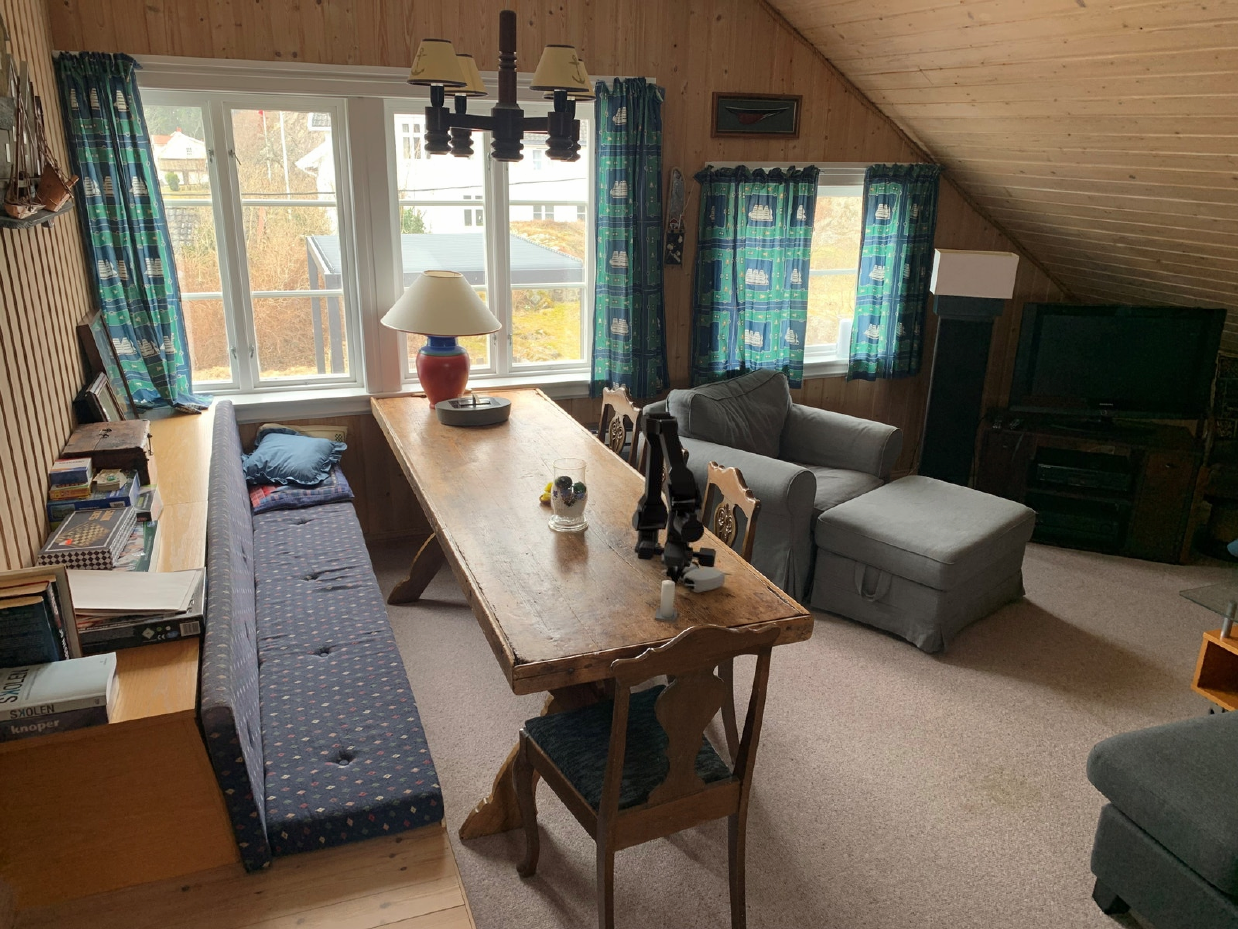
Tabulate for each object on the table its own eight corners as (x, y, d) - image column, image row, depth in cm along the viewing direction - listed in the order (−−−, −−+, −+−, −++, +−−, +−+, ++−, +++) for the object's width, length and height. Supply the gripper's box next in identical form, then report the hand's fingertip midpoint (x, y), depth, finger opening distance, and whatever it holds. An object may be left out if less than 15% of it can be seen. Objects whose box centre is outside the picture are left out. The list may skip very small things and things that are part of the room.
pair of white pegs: (671, 562, 238) (673, 532, 235) (689, 564, 237) (692, 534, 234) (654, 619, 207) (656, 586, 204) (675, 622, 206) (677, 588, 203)
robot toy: (657, 582, 228) (696, 600, 216) (657, 565, 227) (697, 583, 215) (693, 571, 235) (733, 588, 224) (693, 555, 234) (733, 571, 222)
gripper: (635, 534, 210) (632, 594, 215) (714, 543, 207) (709, 604, 212) (643, 518, 221) (639, 576, 225) (718, 526, 218) (713, 585, 222)
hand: (674, 585), depth 221 cm, fingers closed
